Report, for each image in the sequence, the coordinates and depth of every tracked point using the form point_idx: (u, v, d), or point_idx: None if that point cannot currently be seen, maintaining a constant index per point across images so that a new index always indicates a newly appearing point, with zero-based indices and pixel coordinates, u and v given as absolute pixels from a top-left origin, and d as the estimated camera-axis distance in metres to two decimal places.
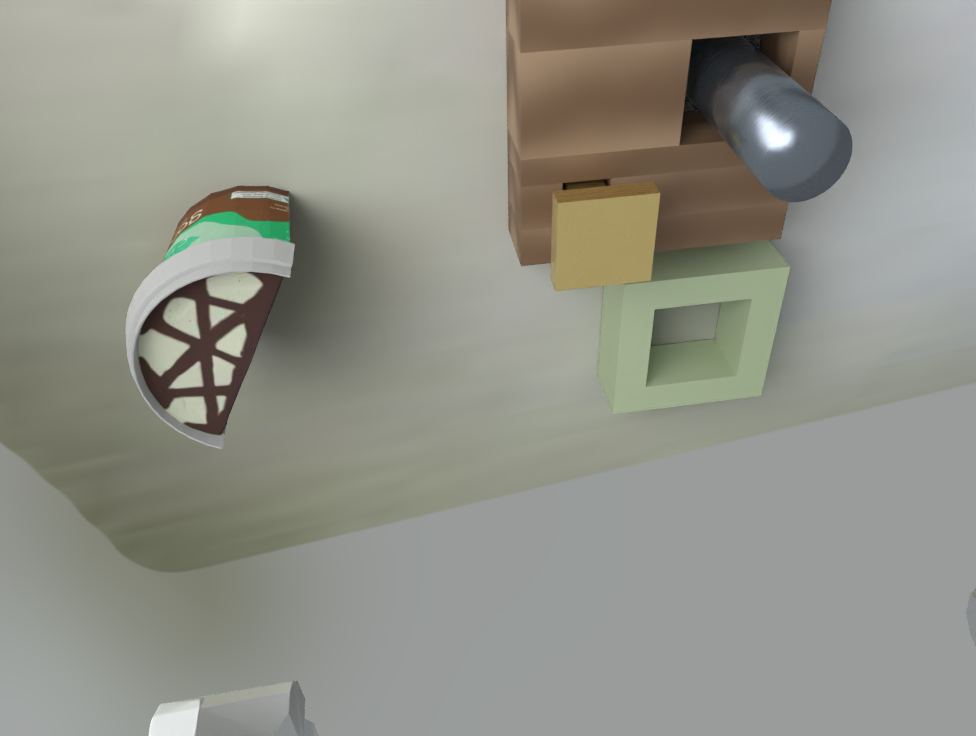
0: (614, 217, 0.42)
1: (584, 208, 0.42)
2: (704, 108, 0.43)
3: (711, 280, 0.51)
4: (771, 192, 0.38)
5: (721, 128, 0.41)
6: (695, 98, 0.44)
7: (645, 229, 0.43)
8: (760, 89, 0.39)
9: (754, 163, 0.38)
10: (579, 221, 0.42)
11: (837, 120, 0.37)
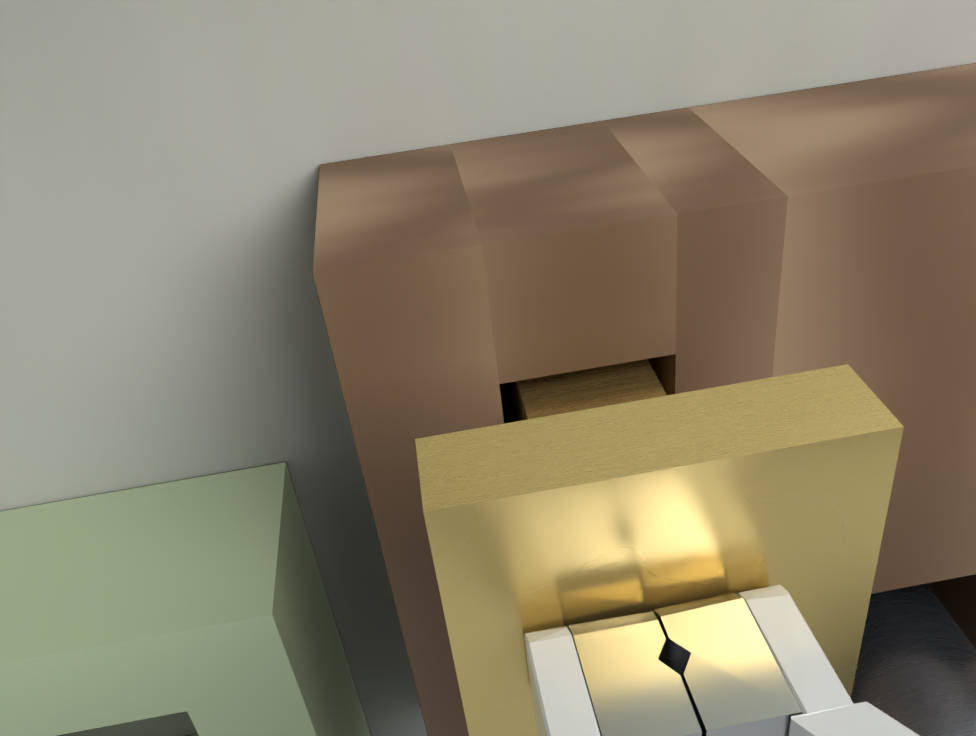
0: None
1: (848, 526, 0.10)
2: (885, 655, 0.16)
3: None
4: None
5: None
6: None
7: None
8: None
9: None
10: (790, 522, 0.10)
11: None
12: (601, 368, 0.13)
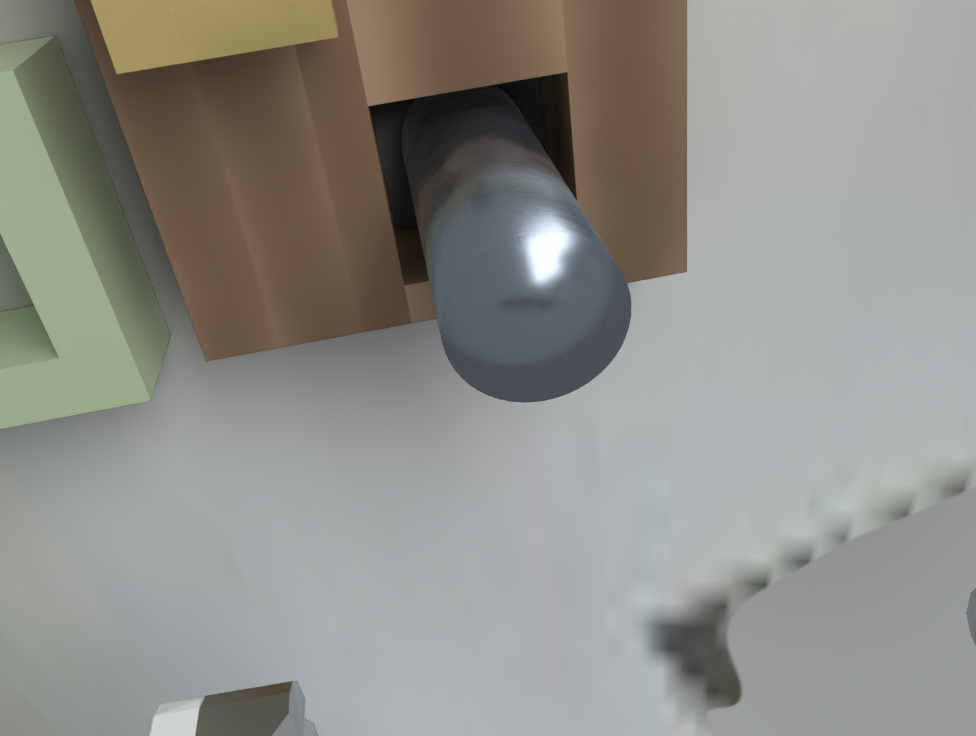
0: None
1: None
2: (459, 128, 0.23)
3: (79, 264, 0.24)
4: (461, 277, 0.17)
5: (469, 158, 0.21)
6: (452, 114, 0.24)
7: (246, 25, 0.19)
8: None
9: (503, 222, 0.18)
10: None
11: (618, 346, 0.19)
12: None
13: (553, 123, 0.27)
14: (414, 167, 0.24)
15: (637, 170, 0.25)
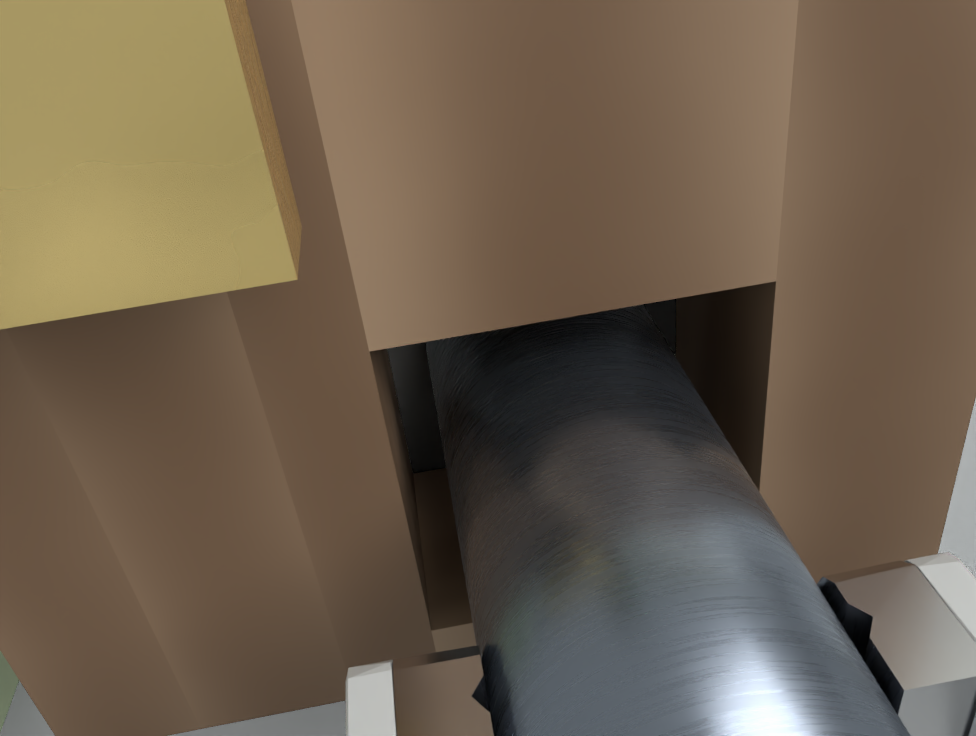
0: (88, 47, 0.07)
1: None
2: (558, 405, 0.11)
3: None
4: None
5: (603, 533, 0.09)
6: (536, 351, 0.12)
7: (58, 259, 0.07)
8: (855, 647, 0.09)
9: None
10: None
11: None
12: None
13: (702, 325, 0.15)
14: (460, 458, 0.12)
15: (878, 441, 0.13)
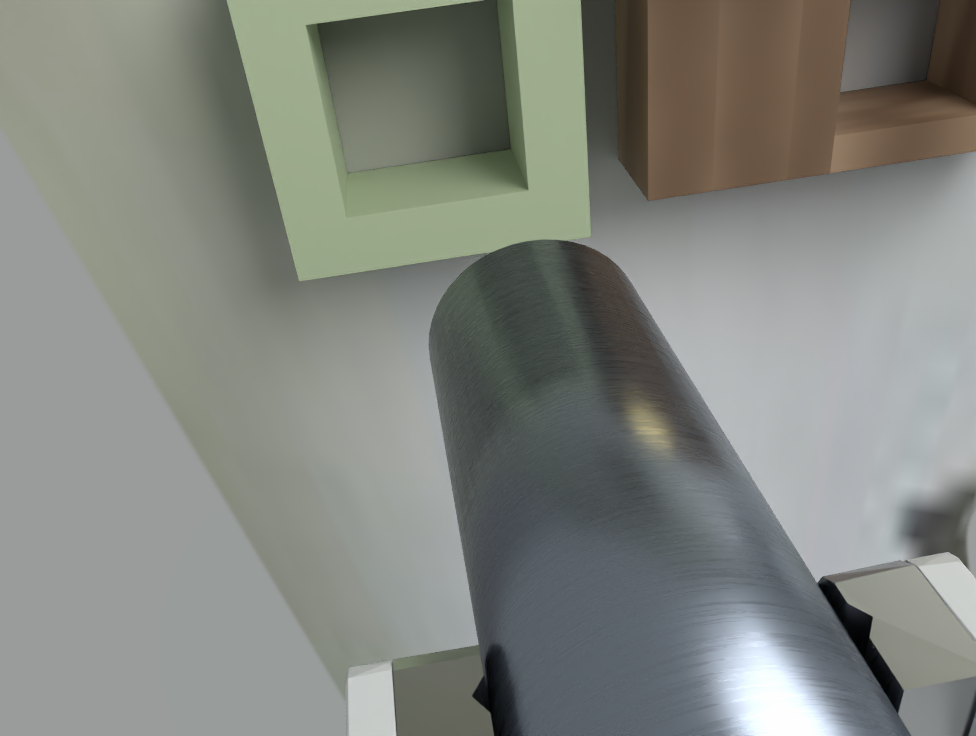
0: None
1: None
2: (561, 408, 0.11)
3: (573, 99, 0.27)
4: None
5: (606, 537, 0.09)
6: (539, 354, 0.12)
7: None
8: None
9: None
10: None
11: None
12: None
13: None
14: (463, 461, 0.12)
15: None
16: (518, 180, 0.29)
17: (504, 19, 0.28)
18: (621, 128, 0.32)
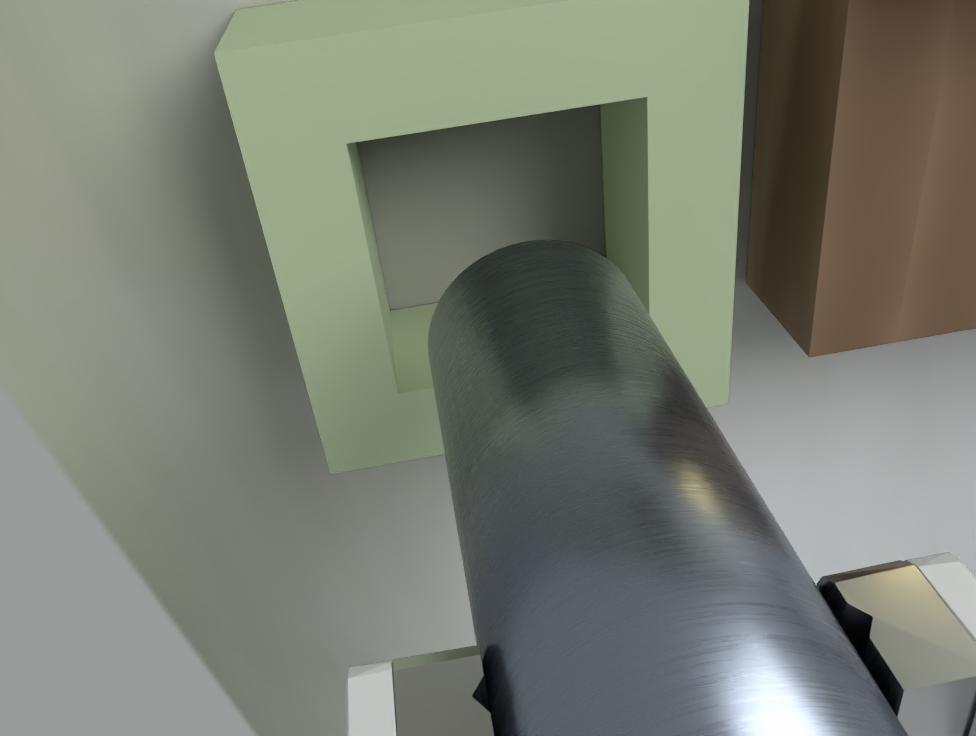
0: None
1: None
2: (560, 409, 0.11)
3: (720, 232, 0.19)
4: None
5: (604, 539, 0.09)
6: (538, 354, 0.12)
7: None
8: (856, 652, 0.09)
9: None
10: None
11: None
12: None
13: None
14: (461, 462, 0.12)
15: None
16: None
17: (617, 117, 0.20)
18: (756, 247, 0.24)
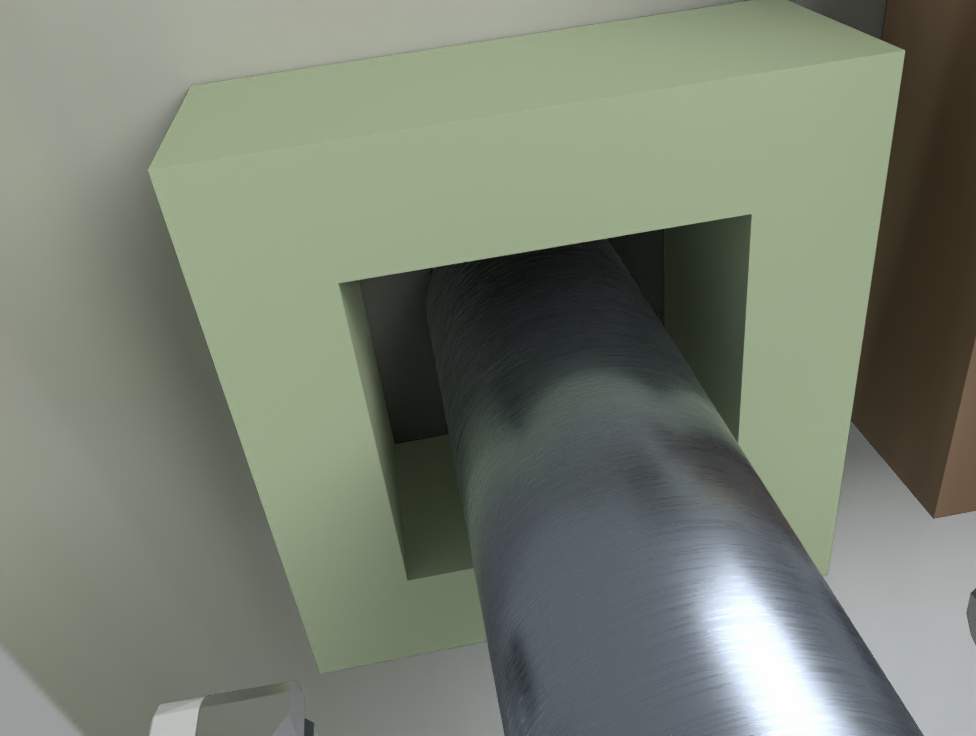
0: None
1: None
2: (545, 346, 0.12)
3: (835, 378, 0.14)
4: None
5: (582, 448, 0.10)
6: (526, 302, 0.13)
7: None
8: (801, 545, 0.10)
9: None
10: None
11: None
12: None
13: None
14: (457, 399, 0.13)
15: None
16: None
17: None
18: None
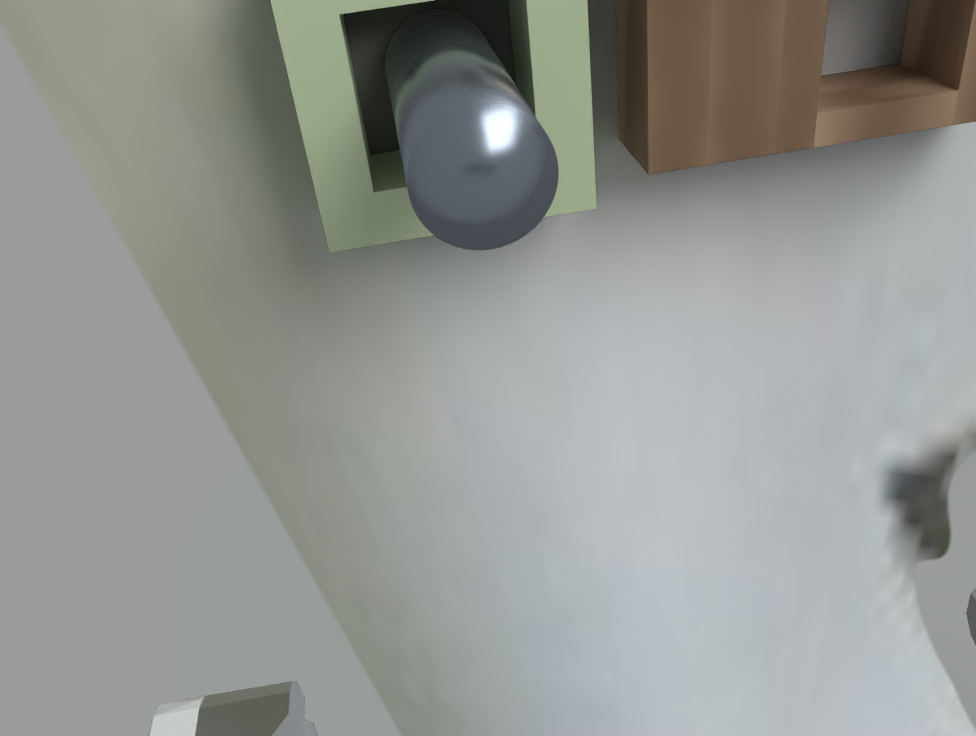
0: None
1: None
2: (430, 43, 0.28)
3: (580, 80, 0.30)
4: (422, 138, 0.22)
5: (436, 61, 0.26)
6: (426, 34, 0.29)
7: None
8: None
9: (457, 98, 0.22)
10: None
11: (549, 204, 0.23)
12: None
13: None
14: (393, 77, 0.29)
15: None
16: None
17: (516, 9, 0.30)
18: (622, 110, 0.34)
